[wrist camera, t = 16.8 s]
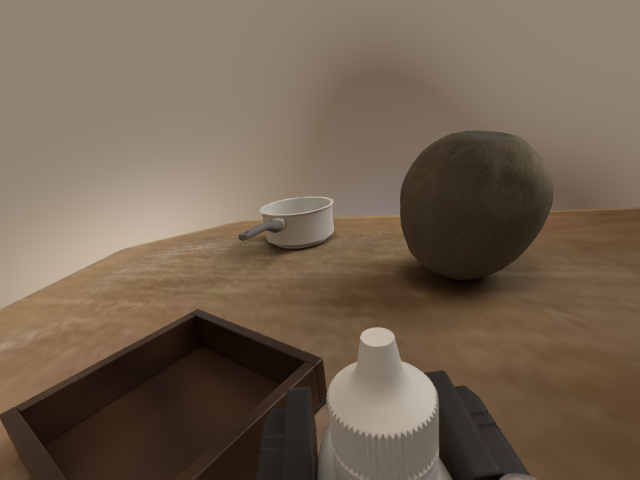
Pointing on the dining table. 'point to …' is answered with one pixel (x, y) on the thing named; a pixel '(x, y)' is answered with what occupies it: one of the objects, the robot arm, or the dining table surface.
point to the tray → (165, 407)
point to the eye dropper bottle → (381, 418)
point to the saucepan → (295, 222)
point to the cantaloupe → (474, 203)
